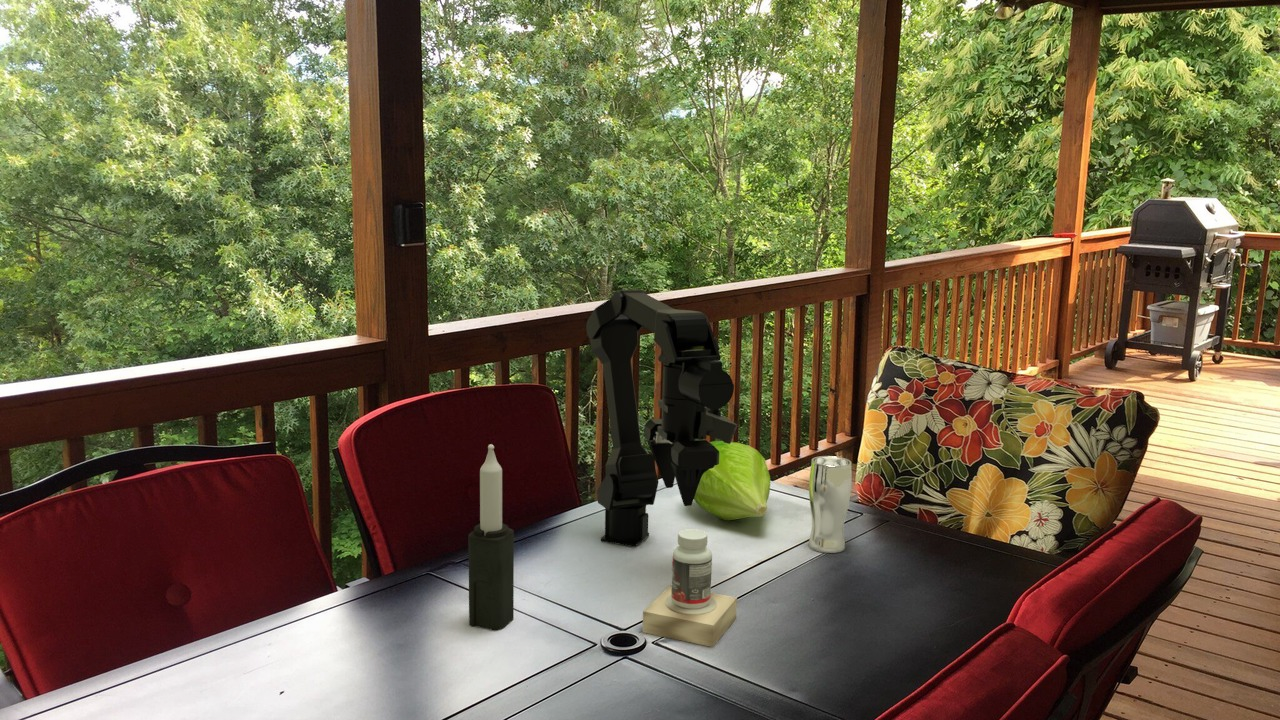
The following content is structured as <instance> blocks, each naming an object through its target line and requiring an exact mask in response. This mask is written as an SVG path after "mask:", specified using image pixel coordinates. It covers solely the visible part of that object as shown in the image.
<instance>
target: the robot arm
mask: <svg viewBox="0 0 1280 720" xmlns="http://www.w3.org/2000/svg"><path fill="white" fill-rule="evenodd" d="M585 327H586V335H587V337H588V339H589V343H590V347H591V351H592V353H594V355H595V357H597V359H598V360H599V361H600V363H601V364H602V367H603V377H604V384H605V393H606V400H607V401H606V404H607V409H608V411H607V413H608V418H609V419H608V420H609V427H610V434H611V437H610V438H611V442H612V450H611V453H610V454H609V457H608V459H607V461H606V463H605V476H604V478H603V479H602V481H601V483H600V485H599V487H598V488H597V489H596V496H597V497H596V498H597V503H598V504H599V506H600V505H601V506H602V507H603V508H604V515H605V516H604V535H602V536H601V537H600V542H604V543H609V544H610V543H611V544H616V545H622V546H627V547H637V546H638V545H639V544H640V543H642V542H643V541H644V540H646V539H647V538H648V537H650V533H649V513H648V512H647V506H649V505H650V506H653V505H654V504H655V501H656V495H657V490H658V487H659V477H658V474H657V470H656V466H657V469H658V471H659V474H660V476H661V478H662V481H663V484H664V486H665V488H666V489H672V488H673V487H674V483H675V481H676V485H677V488H678V491H679V495H680V498H681V500H682V502H683V505H684V506H685V507H691V506H692V505H693V502H694V501H695V500H694V497H695V494H696V491H697V488H698V485H699V482H700V480H701V477H702V475H703V474H704V473H705V472H706V471H707V470H708V469H712V468H713V467H714V466H715V465H718V464H719V451H718V450H717V449H716V448H715V447H714V446H713V445H712V444H711V443H709V442H710V441H708V440H707V436H708V437H709V438H710V437H711V438H714V439H717V440H718V441H723V442H724V443H727V444H730V443H731V442H732V440H733V438H734V436H735V433H736V430H737V427H738V424H737V423H735V422H733V421H732V420H731V419H729V418H727V417H725V416H722V410H721V409H723V408H724V407H726V406H727V405H728V403H729V402H730V401H731V400H732V397H733V395H734V390H735V384H734V382H733V378H731V375H730V374H729V373H728V372H727V371H725V370H723V361H721V360H722V359H721V354H720V349H721V348H720V346H719V344H718V342H717V339H716V337H715V334H714V332H713V328H712V325H711V323H710V321H709V319H708V317H707V316H706V314H705V313H704V312H702V311H697V310H687V309H678V308H676V309H675V308H674V307H671V306H669V305H668V304H665V303H663V302H662V301H660V300H658V299H657V298H654V297H653V296H651V295H648V294H647V292H646V291H645V290H642V289H639V288H638V289H637V288H636V289H619V290H618V291H615V292H614V293H613V294H612V296H611V298H609V299H607V300H606V301H604V302H603V303H601V304H600V305H597V306H596V307H595V308H594V309H593V311H592V313H591V314H590V316H589V317H588V319H587V321H586V326H585ZM643 328H645V329H647V330H648V331H650V332H652V333H653V334H654V335H653V341H654V343H655V344H657V346H658V347H659V348H660V349H661V351H662V353H660V354H659V356H658V358H657V359H658V362H660V363H663V364H662V366H663V367H662V397H661V398H662V399H658V401H657V403H658V404H657V405H658V408H660V409H661V418H650V419H649V420H648V421H647V422H646V423H645V424H644V432H643V433H644V434H643V437H644V438H646V439H647V440H646V443H647V445H648V447H649V449H650V452H651V453H648V451H647V450H646V449H645V448H644V446H643V445H642V439H641V430H640V424H639V415H638V406H637V400H636V391H635V390H636V389H635V382H634V375H633V373H634V372H633V367H632V366H633V365H632V358H633V357H634V354H635V352H636V350H637V347H638V345H639V334H640V332H641V331H642V329H643Z"/></svg>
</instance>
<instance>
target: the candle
mask: <svg viewBox="0 0 1280 720" xmlns="http://www.w3.org/2000/svg"><path fill="white" fill-rule="evenodd" d="M487 449H488V450H487V454H486V458H485V461H484V463H483V464H482V465H481V467H480V469H479V505H480V506H479V521H480V523H478V524H476V525H475V526H474V527H473V530H472V531H471V532H470V533H468V540H467V541H468V625H469V626H471V627H473V628H475V627H476V628H481V629H488V630H491V631H501V630H503V629H504V628H505V627H507V625H509V624H510V623H511V622H512V621H513V620H514V617H515V616H514V611H515V610H514V608H515V607H514V605H515V604H514V601H515V598H514V595H515V593H514V591H515V590H514V589H515V588H514V587H515V586H514V583H515V581H514V580H515V578H514V575H515V574H514V568H515V567H514V566H515V564H514V559H515V558H514V557H515V553H514V550H515V549H514V548H515V547H514V546H515V545H514V539H515V538H514V536H515V533H514V529H512V528H509V525H507V524H505V523H503V468H502V466H501V464H499V462H498V460H497V457H496V453H495V451H494V449H495V446H494V445H493V444H492V443H491V444H488V446H487Z"/></svg>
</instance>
